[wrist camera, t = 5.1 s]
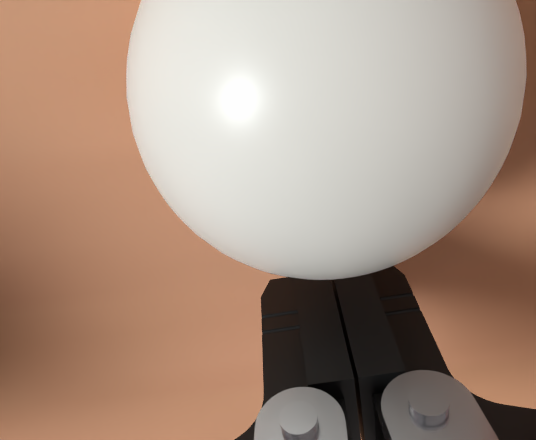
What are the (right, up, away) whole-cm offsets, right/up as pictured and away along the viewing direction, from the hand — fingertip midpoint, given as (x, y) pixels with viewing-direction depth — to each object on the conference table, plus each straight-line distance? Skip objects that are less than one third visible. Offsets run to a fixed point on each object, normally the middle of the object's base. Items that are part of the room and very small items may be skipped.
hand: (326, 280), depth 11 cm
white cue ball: (-1, +3, -3) cm, 5 cm away
